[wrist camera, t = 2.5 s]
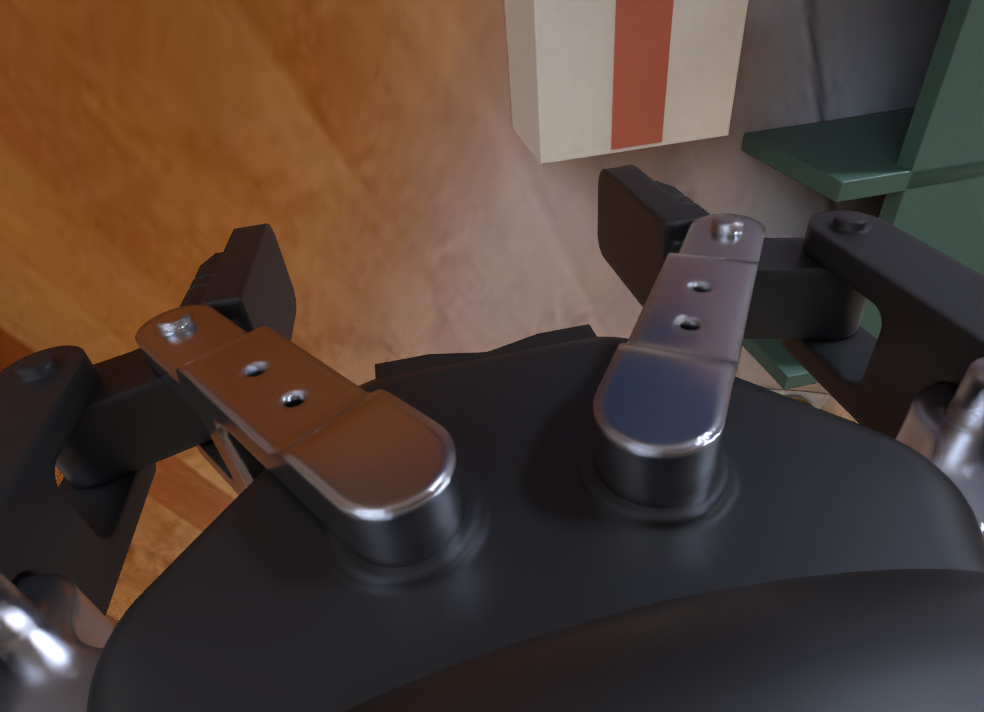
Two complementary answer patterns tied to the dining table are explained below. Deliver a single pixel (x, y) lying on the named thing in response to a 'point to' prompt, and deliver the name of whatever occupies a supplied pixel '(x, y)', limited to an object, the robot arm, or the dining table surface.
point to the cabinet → (898, 164)
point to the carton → (621, 73)
